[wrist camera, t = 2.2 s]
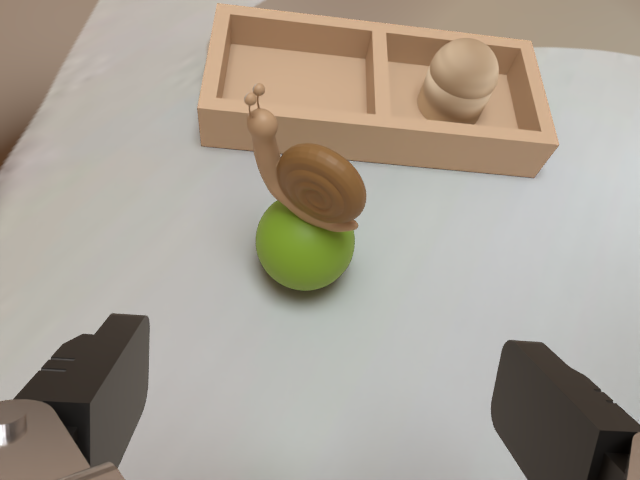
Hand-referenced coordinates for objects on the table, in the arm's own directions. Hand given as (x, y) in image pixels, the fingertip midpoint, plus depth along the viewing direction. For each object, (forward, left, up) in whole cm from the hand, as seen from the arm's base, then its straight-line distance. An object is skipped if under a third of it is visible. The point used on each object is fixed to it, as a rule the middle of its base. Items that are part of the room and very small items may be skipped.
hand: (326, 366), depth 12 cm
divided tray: (-5, -24, -16) cm, 30 cm away
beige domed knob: (-11, -24, -15) cm, 31 cm away
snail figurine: (0, -11, -17) cm, 20 cm away
